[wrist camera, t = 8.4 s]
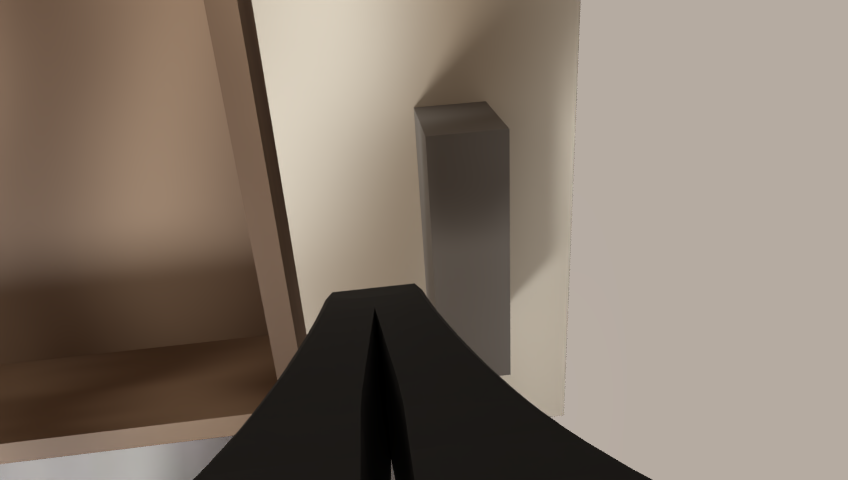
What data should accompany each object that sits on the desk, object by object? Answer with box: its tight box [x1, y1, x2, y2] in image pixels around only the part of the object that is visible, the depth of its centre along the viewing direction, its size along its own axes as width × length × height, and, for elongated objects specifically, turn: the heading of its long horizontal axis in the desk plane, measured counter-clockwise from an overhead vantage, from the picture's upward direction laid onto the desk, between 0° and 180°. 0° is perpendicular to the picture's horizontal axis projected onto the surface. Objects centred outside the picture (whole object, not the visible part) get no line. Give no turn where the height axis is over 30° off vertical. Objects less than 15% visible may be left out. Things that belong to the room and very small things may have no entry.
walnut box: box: [0, 0, 307, 464], centre depth 15 cm, size 12×11×4 cm
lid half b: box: [252, 0, 580, 417], centre depth 13 cm, size 6×11×3 cm, turn 3°
